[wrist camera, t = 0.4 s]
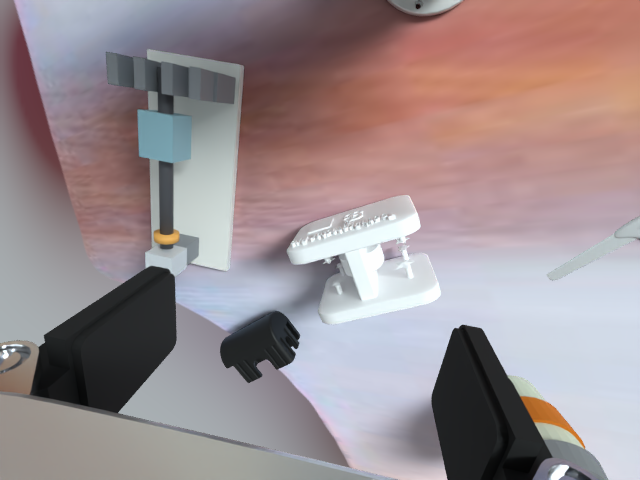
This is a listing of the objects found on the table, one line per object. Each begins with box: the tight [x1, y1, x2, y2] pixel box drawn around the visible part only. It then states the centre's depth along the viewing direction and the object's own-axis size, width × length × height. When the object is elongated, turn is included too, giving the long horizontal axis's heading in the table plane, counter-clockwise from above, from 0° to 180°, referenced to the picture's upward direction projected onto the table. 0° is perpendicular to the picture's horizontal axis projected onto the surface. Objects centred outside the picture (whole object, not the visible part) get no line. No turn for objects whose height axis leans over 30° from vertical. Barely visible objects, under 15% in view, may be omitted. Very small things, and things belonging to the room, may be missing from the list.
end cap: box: [220, 311, 300, 383], centre depth 51 cm, size 10×7×7 cm
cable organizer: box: [287, 195, 441, 324], centre depth 41 cm, size 15×11×12 cm
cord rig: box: [106, 49, 244, 277], centre depth 42 cm, size 28×12×9 cm, turn 171°
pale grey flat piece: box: [547, 216, 640, 280], centre depth 39 cm, size 25×24×1 cm
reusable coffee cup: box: [508, 376, 608, 480], centre depth 45 cm, size 13×13×15 cm
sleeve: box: [137, 109, 192, 163], centre depth 38 cm, size 5×4×4 cm
